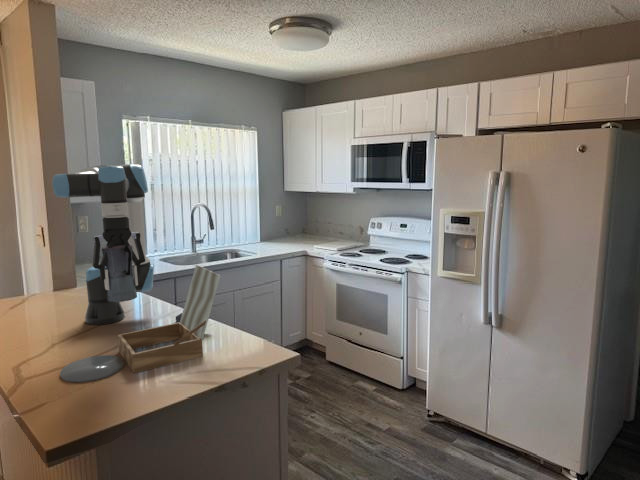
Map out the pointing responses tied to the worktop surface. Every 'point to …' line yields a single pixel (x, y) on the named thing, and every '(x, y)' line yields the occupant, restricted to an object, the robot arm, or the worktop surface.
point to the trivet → (91, 368)
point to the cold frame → (174, 329)
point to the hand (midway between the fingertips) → (121, 286)
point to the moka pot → (120, 273)
